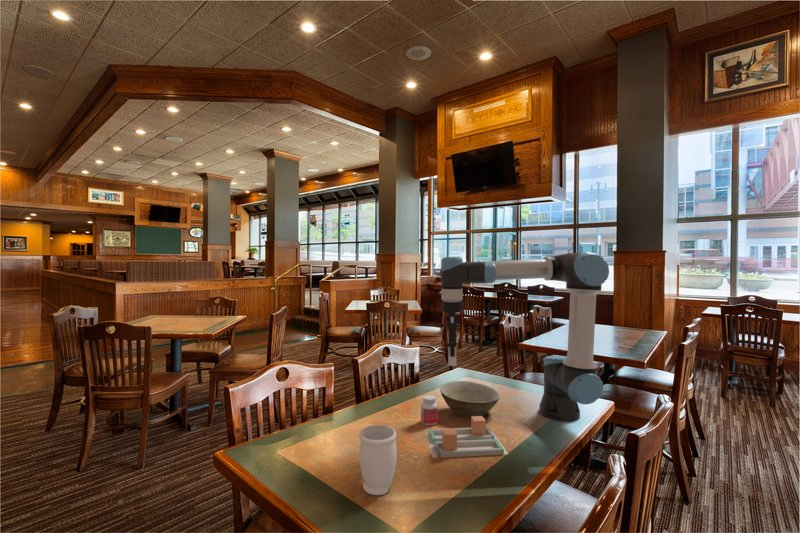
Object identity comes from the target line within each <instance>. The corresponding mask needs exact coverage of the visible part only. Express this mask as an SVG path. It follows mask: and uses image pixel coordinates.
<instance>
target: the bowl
mask: <svg viewBox="0 0 800 533" xmlns="http://www.w3.org/2000/svg"><path fill="white" fill-rule="evenodd" d="M439 391H440V394H441V396H442V399H443V400H444V402H445V403H446V405H447V406H448V408H449V409H450V410H451V411H452V412H453V413H454V414H455V415H457V416H460V417H466V418H471V416H484V415H486V414H487V413H489V412H490V411H491V410H492V409H493V408H494V407H495V405H496V404H497V403H498V401H499V400H500V399H501V398H500V396H501V395H500V392H498V391H497V390H496V389H495V388H494V387H491V386H489V385H486V384H483V383H479V382H475V381H469V380H456V381H450V382H446V383H443V384H442V385H441V386H440V388H439Z"/></svg>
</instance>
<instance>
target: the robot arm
mask: <svg viewBox="0 0 800 533" xmlns="http://www.w3.org/2000/svg"><path fill="white" fill-rule="evenodd" d="M440 261H441V262H440V264H441V265H440V285H441V286H440V287H441V289H440V291H439V294H440V296H441V298H440V299H441V300H442V301H441V303H440V308H441V312H442V313H447V314H448V315H447V316H445V318H446V320H445V321H446V329H447V330H448V332H447V333H448V335H447V336H448V338H447V339H448V340H447V342H448V343H446V347H447V349H448V350H447V351H448V352H447V353H448V355H447V357H448V358H447V359H448V360H447V361H448V362H447V364H448V367H450V366H451V367H457V338H458V334H457V329H458V322H459V321H458V320H459V318H458V316H456V313H459V314H460V313H462V312H463V310H464V309H463V305H464V304H463V303H464V302H463V299H464V298H463V296H464V295H463V294H464V291H463V290H464V289H463V284H485V285H487V284H493V283H494V282H496V281H505V280H506V281H509V280H531V279H543V280H545V281H555V282H556V281H557V282H564V283H566V284H565V286H566V287H565V289H566V290H567V291H568V292H569V314H568V315H569V316H568V332H567V333H568V335H567V336H568V337H567V354H566V356H565V355H549V356H546V357H545V358H544V361H543V395H542V398H541V401H540V403H539V407H538V408H539V409H538V410H539V413H540V414H541V415H542V416H543V417H546V418H548V419H551V420H554V421H561V422H573V421H578V420H579V419H580V418H581V410H580V408H579V404H581V405H590V404H593V403H595V402H596V401H597V400H599V399H600V398H601V396H602V395H603V391H604V383H603V380H601V378H600V376H598V364H596V362H595V361H594V352H595V351H594V350H595V349H594V347H595V331H596V330H595V328H596V311H597V310H596V308H597V306H596V305H597V295H598V294H599V293H600V292H601V291H602V287H603V286H602V285H603V284H604V283H606V281H607V280H608V278H609V275H610V267H609V264H608V262H607V260H606V259H605V258H604V257H603V256H602V255H600V254H598V253H594V252H589V251H586V252H568V253H563V254H558V255H551V256H546V255H545V256H544V257H543V258H541V259H540V258H537V259H513V260H512V259H511V260H510V259H509V260H491V261H490V260H487V261H465V262H464V260H463V257H461V256H458V257H457V256H454V257H453V256H451V257H450V256H446V257H442V258H441V260H440Z"/></svg>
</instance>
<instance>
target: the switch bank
mask: <svg viewBox="0 0 800 533" xmlns="http://www.w3.org/2000/svg"><path fill="white" fill-rule="evenodd" d="M442 429H443V428H436V429H435V428H434V429H432V428H431V429H428V433H425V434H424V435H425V438H426V441H427V445H428V447H429V449H430V450H429V451H430V454H431V457H432V459H435V458H458V457H478V456H479V457H481V456H499V455H500V456H501V455H509V453H508V451H507V450H506V449H505V447H504V446H503V444H502V443H501V441H500V440H499V439H498V437H497V436H496V434H495V433H494V431H493V430H491V429H490V428H489V426H486V435H479V436H472V434H471V427H461V428H459V427H457V428H454V427H452V429H455V431H456V433H457V450H447V451H443V449H442Z"/></svg>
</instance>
